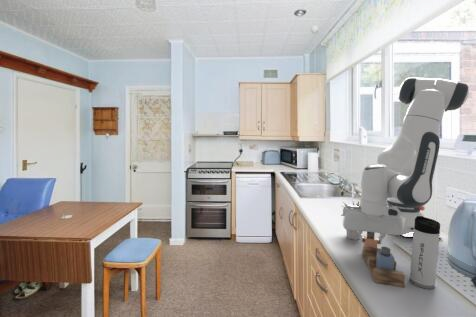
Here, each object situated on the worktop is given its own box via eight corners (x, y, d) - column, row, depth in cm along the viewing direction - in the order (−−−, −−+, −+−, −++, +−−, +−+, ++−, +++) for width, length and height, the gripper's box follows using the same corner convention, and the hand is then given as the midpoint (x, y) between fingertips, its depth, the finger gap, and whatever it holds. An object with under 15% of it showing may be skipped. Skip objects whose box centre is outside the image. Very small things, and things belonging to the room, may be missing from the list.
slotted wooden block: (386, 258, 94) (387, 248, 93) (404, 287, 76) (405, 276, 75) (362, 254, 96) (363, 245, 96) (374, 282, 78) (375, 271, 77)
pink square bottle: (374, 251, 99) (375, 231, 99) (376, 255, 96) (378, 235, 95) (362, 249, 100) (364, 230, 100) (364, 254, 97) (366, 233, 96)
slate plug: (389, 270, 83) (391, 246, 82) (393, 276, 79) (395, 252, 79) (375, 268, 84) (377, 245, 84) (378, 274, 80) (380, 250, 80)
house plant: (378, 247, 103) (380, 207, 101) (341, 243, 106) (344, 205, 104) (367, 233, 117) (370, 198, 115) (335, 231, 120) (337, 196, 118)
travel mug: (423, 276, 81) (428, 215, 80) (440, 289, 75) (446, 223, 73) (404, 276, 81) (409, 215, 79) (419, 289, 75) (425, 223, 73)
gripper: (344, 207, 96) (342, 242, 97) (406, 212, 91) (403, 249, 92) (342, 202, 102) (340, 236, 103) (400, 207, 97) (397, 242, 98)
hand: (370, 242), depth 98 cm, fingers open, 4 cm apart
